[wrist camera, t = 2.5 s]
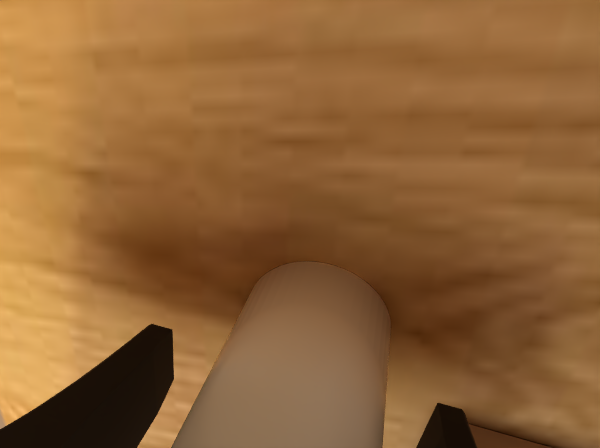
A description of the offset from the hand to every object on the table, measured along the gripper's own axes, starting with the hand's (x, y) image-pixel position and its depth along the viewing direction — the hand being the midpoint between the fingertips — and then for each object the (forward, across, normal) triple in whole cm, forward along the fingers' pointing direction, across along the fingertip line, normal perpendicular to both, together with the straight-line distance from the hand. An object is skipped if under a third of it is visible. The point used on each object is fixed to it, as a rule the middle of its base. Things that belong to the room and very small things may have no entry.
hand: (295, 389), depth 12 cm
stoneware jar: (+3, 0, 0) cm, 3 cm away
